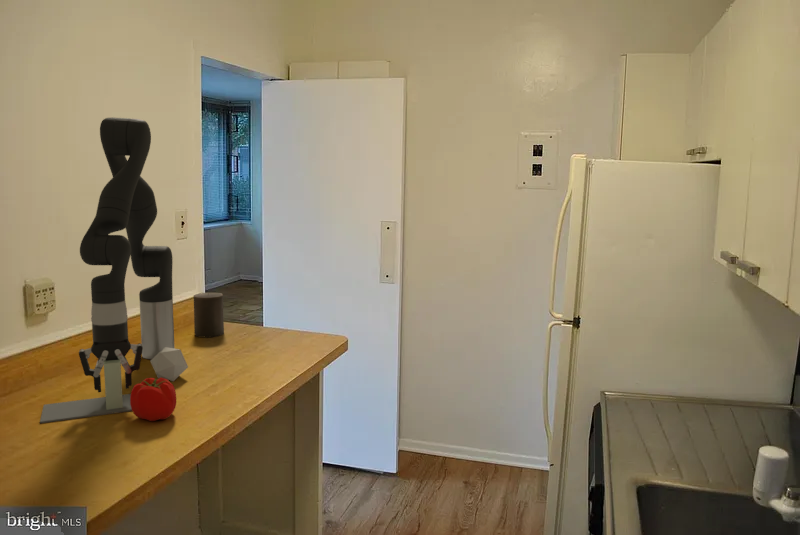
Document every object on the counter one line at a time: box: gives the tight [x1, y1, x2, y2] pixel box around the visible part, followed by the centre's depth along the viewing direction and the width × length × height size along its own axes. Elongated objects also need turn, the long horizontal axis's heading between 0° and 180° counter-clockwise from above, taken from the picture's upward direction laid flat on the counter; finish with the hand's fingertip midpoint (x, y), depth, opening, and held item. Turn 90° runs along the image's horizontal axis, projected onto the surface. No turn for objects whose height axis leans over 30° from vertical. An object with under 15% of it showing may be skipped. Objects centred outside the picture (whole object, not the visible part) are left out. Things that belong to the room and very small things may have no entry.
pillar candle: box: [193, 290, 225, 338], centre depth 213 cm, size 10×10×15 cm
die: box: [150, 347, 189, 382], centre depth 168 cm, size 8×9×10 cm
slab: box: [103, 360, 123, 410], centre depth 148 cm, size 7×4×11 cm, turn 26°
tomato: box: [130, 377, 177, 422], centre depth 141 cm, size 11×11×9 cm
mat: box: [39, 393, 133, 424], centre depth 146 cm, size 11×20×1 cm, turn 116°
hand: (113, 389), depth 148 cm, fingers open, 5 cm apart
